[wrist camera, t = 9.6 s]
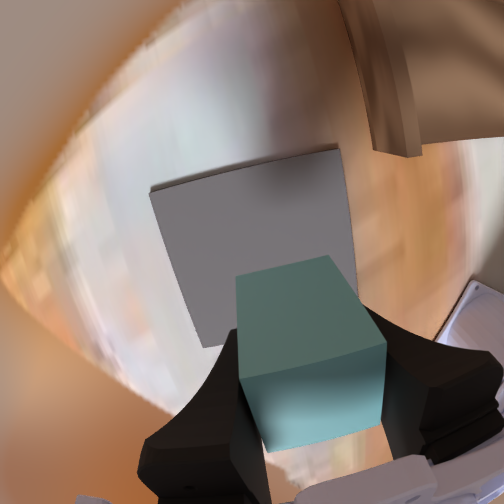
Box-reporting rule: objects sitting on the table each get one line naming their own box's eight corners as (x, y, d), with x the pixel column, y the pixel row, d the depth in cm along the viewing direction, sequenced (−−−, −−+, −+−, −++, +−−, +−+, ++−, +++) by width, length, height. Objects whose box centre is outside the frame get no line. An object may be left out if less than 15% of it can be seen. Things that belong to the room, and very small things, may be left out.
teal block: (336, 329, 15) (379, 424, 9) (255, 348, 15) (267, 453, 9) (328, 254, 13) (386, 341, 8) (235, 276, 13) (239, 379, 8)
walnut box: (542, 133, 18) (576, 140, 14) (373, 150, 19) (407, 157, 15) (516, 5, 13) (547, -2, 9) (327, -29, 14) (349, -59, 10)
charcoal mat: (337, 148, 19) (339, 148, 18) (357, 309, 23) (358, 312, 23) (150, 192, 19) (148, 193, 19) (203, 344, 24) (203, 348, 23)
